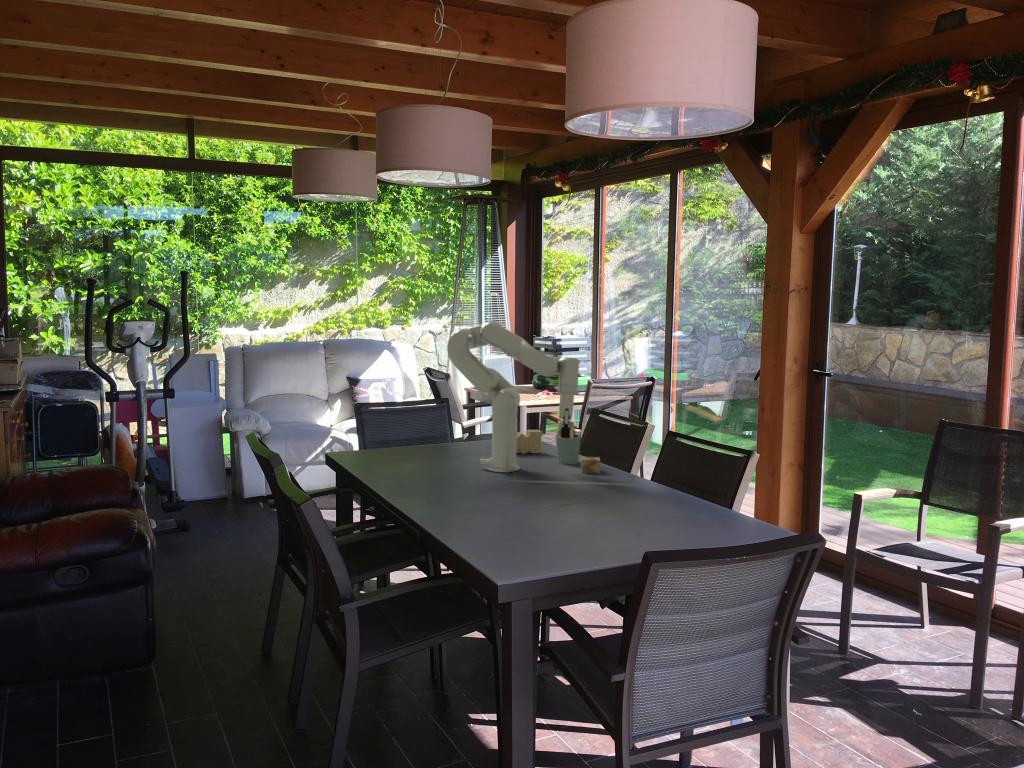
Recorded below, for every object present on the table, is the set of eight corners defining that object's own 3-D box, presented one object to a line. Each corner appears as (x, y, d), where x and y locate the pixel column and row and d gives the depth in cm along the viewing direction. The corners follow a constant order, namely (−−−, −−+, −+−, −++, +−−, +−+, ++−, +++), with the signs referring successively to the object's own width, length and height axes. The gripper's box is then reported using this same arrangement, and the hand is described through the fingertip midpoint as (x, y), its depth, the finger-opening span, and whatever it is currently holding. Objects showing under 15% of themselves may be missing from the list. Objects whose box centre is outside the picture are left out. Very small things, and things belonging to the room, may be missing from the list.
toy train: (502, 452, 382) (502, 429, 381) (539, 451, 386) (540, 429, 385) (505, 454, 376) (505, 431, 375) (543, 453, 381) (543, 431, 380)
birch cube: (557, 438, 334) (558, 422, 333) (557, 435, 339) (558, 420, 339) (573, 439, 333) (574, 423, 333) (572, 436, 339) (573, 421, 339)
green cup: (584, 465, 355) (585, 436, 354) (565, 467, 349) (565, 437, 348) (569, 461, 363) (570, 432, 362) (549, 463, 358) (550, 434, 357)
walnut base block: (581, 472, 334) (581, 459, 333) (580, 469, 341) (581, 456, 340) (599, 473, 333) (600, 460, 333) (598, 470, 340) (599, 457, 340)
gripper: (557, 387, 343) (555, 432, 345) (558, 391, 326) (555, 439, 328) (576, 388, 343) (574, 433, 345) (578, 392, 326) (575, 440, 328)
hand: (565, 435), depth 336 cm, fingers closed on birch cube, 6 cm apart
